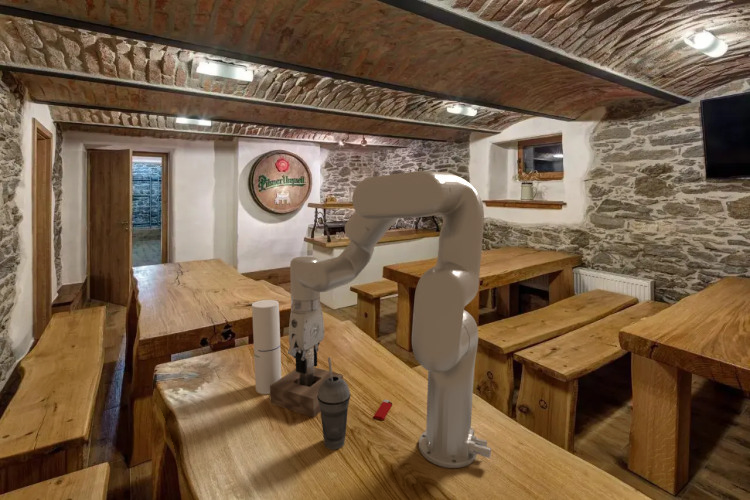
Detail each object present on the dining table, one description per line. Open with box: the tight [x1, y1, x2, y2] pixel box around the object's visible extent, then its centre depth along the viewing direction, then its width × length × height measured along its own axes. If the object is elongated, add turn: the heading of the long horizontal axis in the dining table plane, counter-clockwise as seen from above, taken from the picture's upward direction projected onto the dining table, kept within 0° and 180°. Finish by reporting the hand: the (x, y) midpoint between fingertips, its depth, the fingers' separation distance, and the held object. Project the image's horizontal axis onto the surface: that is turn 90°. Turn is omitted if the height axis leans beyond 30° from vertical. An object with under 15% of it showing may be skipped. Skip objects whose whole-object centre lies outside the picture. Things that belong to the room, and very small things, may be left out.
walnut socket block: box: [269, 366, 344, 418], centre depth 103 cm, size 14×14×5 cm
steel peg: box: [299, 346, 315, 387], centre depth 102 cm, size 4×4×12 cm
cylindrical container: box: [251, 299, 282, 395], centre depth 107 cm, size 7×7×25 cm
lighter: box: [372, 399, 393, 421], centre depth 98 cm, size 3×1×8 cm
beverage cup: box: [317, 357, 351, 451], centre depth 84 cm, size 7×7×20 cm
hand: (306, 368), depth 103 cm, fingers closed on steel peg, 4 cm apart
